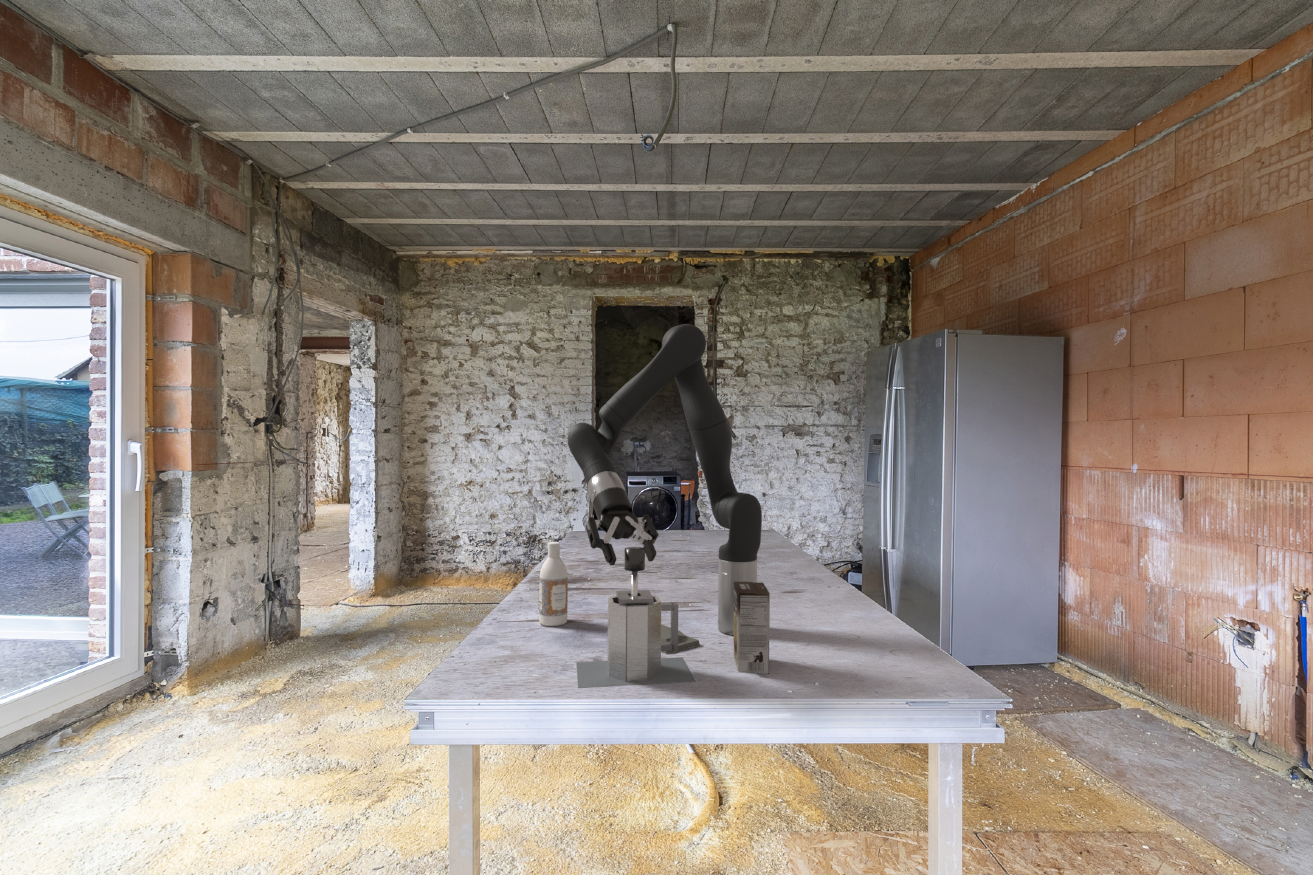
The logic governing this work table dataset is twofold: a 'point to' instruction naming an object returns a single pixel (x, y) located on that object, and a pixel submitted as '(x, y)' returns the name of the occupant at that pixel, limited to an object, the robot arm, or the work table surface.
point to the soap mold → (683, 640)
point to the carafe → (638, 635)
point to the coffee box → (751, 627)
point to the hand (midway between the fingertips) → (633, 561)
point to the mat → (599, 677)
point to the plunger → (634, 566)
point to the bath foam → (553, 589)
